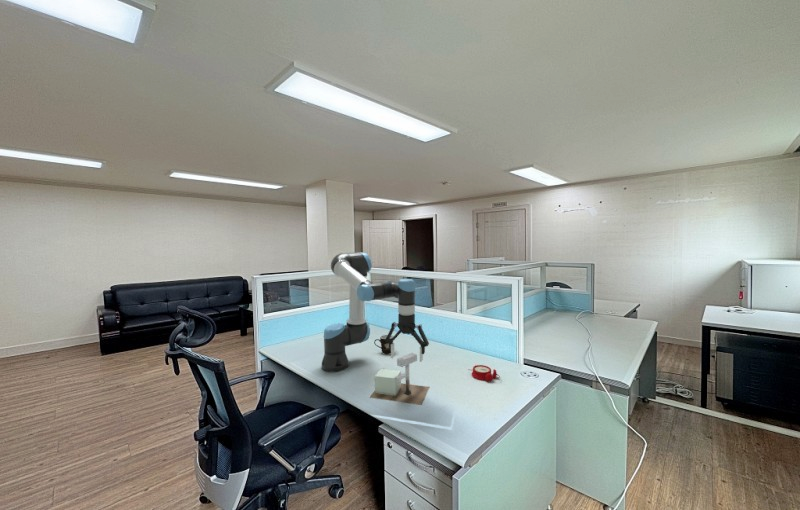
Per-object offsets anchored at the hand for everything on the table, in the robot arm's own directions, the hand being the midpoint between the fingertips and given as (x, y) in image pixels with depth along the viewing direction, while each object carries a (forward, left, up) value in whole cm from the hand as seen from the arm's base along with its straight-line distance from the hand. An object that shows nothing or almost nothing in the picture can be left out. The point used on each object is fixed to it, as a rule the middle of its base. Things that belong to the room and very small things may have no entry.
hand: (406, 359), depth 139 cm
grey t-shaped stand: (0, -1, -15) cm, 15 cm away
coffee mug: (-28, +48, -17) cm, 58 cm away
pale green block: (-9, 0, -16) cm, 18 cm away
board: (-3, 0, -17) cm, 17 cm away
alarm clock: (+34, +28, -17) cm, 47 cm away
